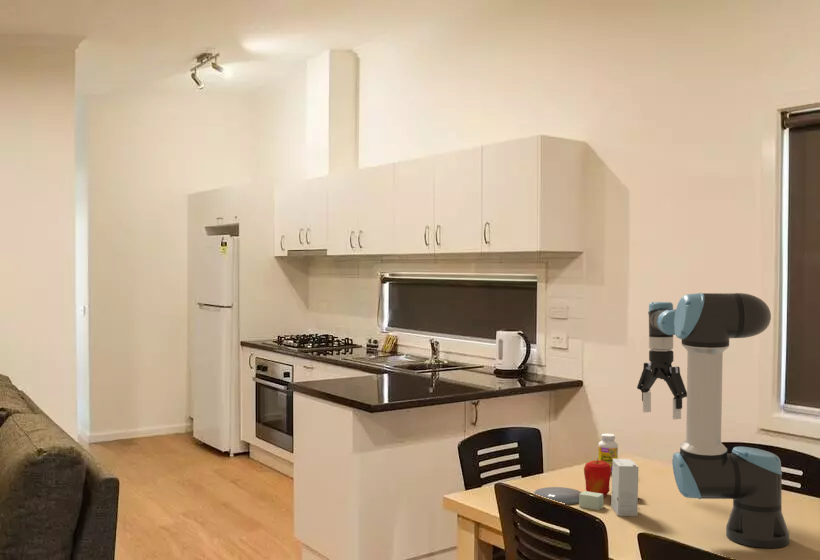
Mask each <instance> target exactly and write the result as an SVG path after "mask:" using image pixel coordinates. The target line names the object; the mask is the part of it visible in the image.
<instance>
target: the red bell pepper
mask: <svg viewBox="0 0 820 560" xmlns="http://www.w3.org/2000/svg"><path fill="white" fill-rule="evenodd" d="M598 459H599V458H598V457H597V460H591V461H588V462H586V463H585V464H584V466H583V474H584V480H585V491H588V492H595V493H601V494H603V498H604V497H606V496H607V495H608V494H609V493H610V480H611V477H612V473H611V467H610V465H609V463H607V462H605V461H602V460H598Z"/></svg>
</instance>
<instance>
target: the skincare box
mask: <svg viewBox="0 0 820 560" xmlns="http://www.w3.org/2000/svg"><path fill="white" fill-rule="evenodd" d="M638 492H639V466H638V465H637V464H636V462H635V461H633V460H632V458H618V459H613V466H612V473H611V502H610V503H611V504H610V506H611V509H612V510H613V511H614V512H615V513H616V515H617V516H618V517H638V506H639V505H638V497H639V493H638Z"/></svg>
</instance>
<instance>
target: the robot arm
mask: <svg viewBox="0 0 820 560" xmlns="http://www.w3.org/2000/svg"><path fill="white" fill-rule="evenodd" d="M647 312H648V313H647V315H648V349H650V350H649V351H648V361H649V362H644V363H643V369H642V372H641V374H640V378H639V380H638V384H637V387H636V388H637V390H640V392H641V400H642V401H641V402H642V412H643V413H644V414H645V413H651V412H652V393H651V389H652V387H653V385H654V384H655V382H656V381H657V379H660V380H663V381H664V382H665V383H666V384H667V386H668V388H669V390H670V392H671V394H672V395H673V398H672V420H681V419H682V409H683V398H686V425H685V426H686V431H685V432H686V434H685V436H686V437H685V438H686V439H685V440H684V441H683V442H682V443H680V444H679V445H680V446H679V451H678V452H675V453H673V455H672V459H671V460H672V461H671V463H672V471H673V476H674V479H675V480H674V481H675V483H676V487H677V489H678V491H679V493H680V495H682V496H683V497H684V498H687V499H698V500H713V499H715V500H716V499H717V500H732V508H731V511H730V514H729V517H728V521H727V523H726V525H725V527H726V528H725V533H726V538H728V539H729V540H731V541H732V542H734V543H737V544H740V545H743V546H747V547H754V548H759V549H760V548H762V549H777V548H783V547H786V546H788V545H789V544H790V532H789V529H788V526H787V524H786V520H785V518H784V515H783V510H782V501H783V499H782V495H783V494H782V482H783V481H782V479H783V478H782V477H783V476H782V475H783V472H782V464H781V463H782V461H781V459H780V457H779V456H778V455H777V454H775V453H773V452H770V451H767V450H764V449H760V448H755V447H748V446H734V447H733V448H732V450H731V452H730V453H728V448H727V447H726V446H725V445H724V444H723V443H722V414H723V413H722V412H723V411H722V410H723V409H722V406H723V405H722V404H723V353H724V352H725V351H726V350H727V349H728V348H729V347H730V339H744V338H745V339H746V338H751V337H754V336H758V335H759V334H761V333H763V332H765V330H766V329H767V328H768V327H769V325H770V323H771V320H772V313H771V310H770V307H769V305H767V303H766V302H765V301H764V300H762V299H761V298H760V297H757V296H755V295H753V294H749V293H742V292H733V293H732V292H731V293H729V292H728V293H727V292H726V293H723V292H722V293H721V292H720V293H719V292H716V293H715V292H714V293H711V292H708V293H705V292H704V293H703V292H698V293H688V294H685V295H683V296H681V298H680V299H679V301H678V303H677V306H676V309H674V304H673V303H672V302H669V301H652V302H650V303H649V304H648V311H647ZM674 336H676V338H677V339H679V340H681V346H682V347H683V348H684V349H685V350H686V353H687V368H686V374H687V375H686V387H685V384H684V381H683V378H682V375H681V369H680V366H672V365H673V364H672V363H673V362H674V351H673V349H674Z"/></svg>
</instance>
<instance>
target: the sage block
mask: <svg viewBox="0 0 820 560" xmlns="http://www.w3.org/2000/svg"><path fill="white" fill-rule="evenodd" d="M581 492H582V493H580V494H579V503H578V504H579V505H578V506H579V508H582V509H589V510H596V511H600V510H601V509H602V508H604V497H603V494H601V493H595V492H588V491H586V490H583V491H581Z"/></svg>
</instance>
